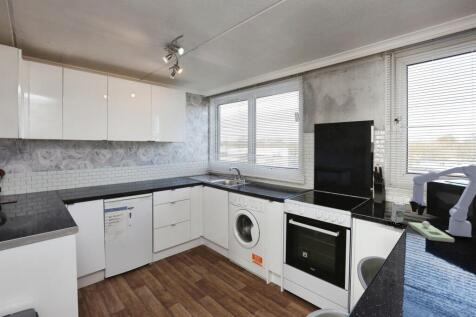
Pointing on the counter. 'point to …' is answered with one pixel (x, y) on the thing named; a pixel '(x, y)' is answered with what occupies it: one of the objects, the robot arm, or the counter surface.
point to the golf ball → (425, 224)
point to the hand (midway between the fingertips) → (417, 213)
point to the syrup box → (397, 212)
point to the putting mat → (431, 232)
